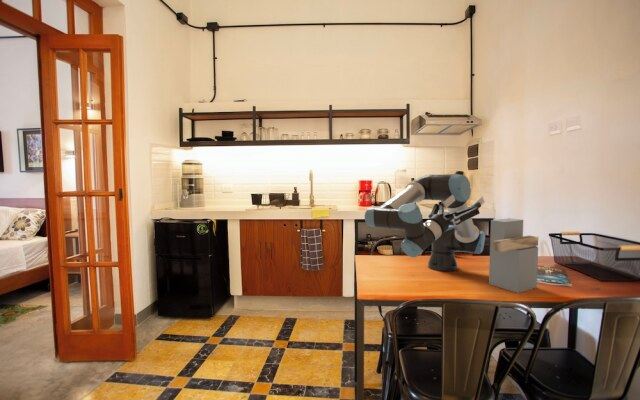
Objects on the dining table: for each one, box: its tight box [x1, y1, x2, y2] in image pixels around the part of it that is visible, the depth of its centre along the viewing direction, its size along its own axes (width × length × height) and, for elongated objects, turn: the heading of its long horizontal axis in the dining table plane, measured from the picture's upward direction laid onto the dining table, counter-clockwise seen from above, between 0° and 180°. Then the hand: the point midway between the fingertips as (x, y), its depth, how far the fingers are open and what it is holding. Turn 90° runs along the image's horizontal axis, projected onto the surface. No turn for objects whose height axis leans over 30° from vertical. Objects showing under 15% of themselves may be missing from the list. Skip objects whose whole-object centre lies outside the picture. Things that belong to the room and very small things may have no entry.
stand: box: [488, 217, 539, 294], centre depth 149 cm, size 14×14×30 cm
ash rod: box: [493, 235, 539, 252], centre depth 143 cm, size 4×26×4 cm, turn 118°
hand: (467, 198), depth 133 cm, fingers open, 13 cm apart
